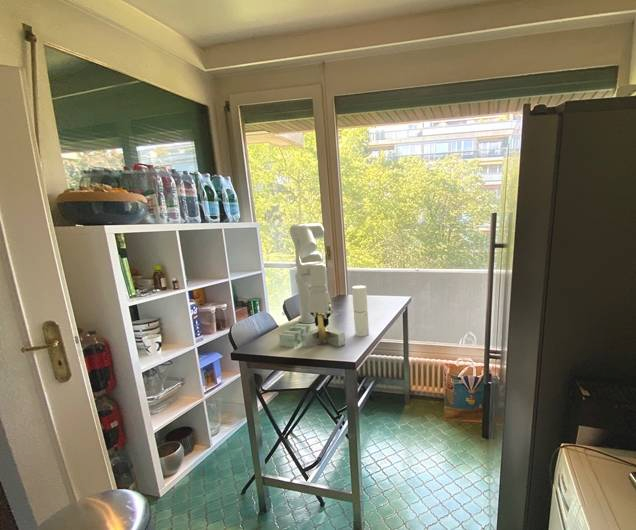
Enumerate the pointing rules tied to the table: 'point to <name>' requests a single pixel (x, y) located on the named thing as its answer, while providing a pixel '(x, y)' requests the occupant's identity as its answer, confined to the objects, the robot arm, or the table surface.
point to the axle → (321, 327)
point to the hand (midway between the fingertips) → (322, 325)
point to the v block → (332, 338)
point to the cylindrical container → (360, 310)
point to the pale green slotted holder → (293, 335)
